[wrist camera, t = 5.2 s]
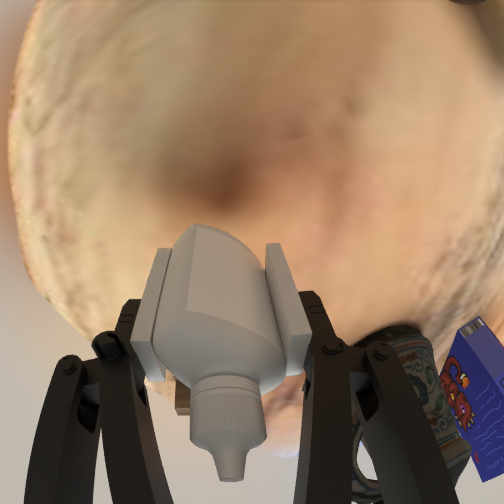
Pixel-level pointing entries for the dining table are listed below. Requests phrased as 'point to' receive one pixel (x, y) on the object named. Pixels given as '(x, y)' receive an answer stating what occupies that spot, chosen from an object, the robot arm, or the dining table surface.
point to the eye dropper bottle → (220, 342)
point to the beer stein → (432, 400)
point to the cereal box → (478, 394)
